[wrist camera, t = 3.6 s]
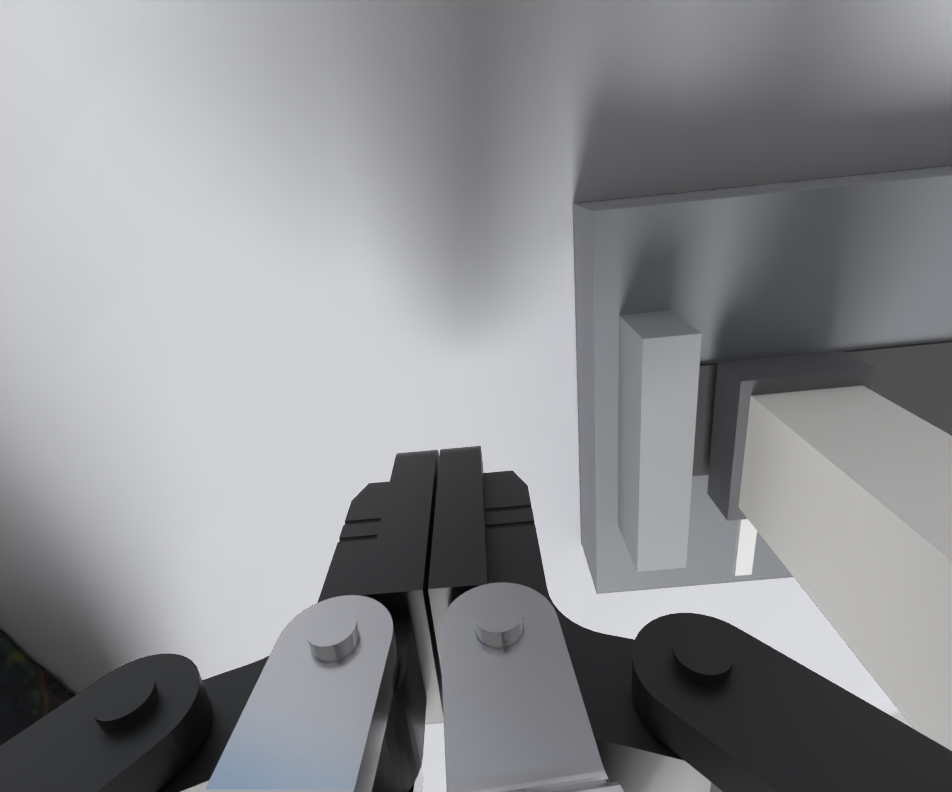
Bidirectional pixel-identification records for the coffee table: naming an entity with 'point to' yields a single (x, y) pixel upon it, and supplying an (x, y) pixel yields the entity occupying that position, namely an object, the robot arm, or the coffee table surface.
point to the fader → (848, 512)
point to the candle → (24, 691)
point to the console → (739, 344)
